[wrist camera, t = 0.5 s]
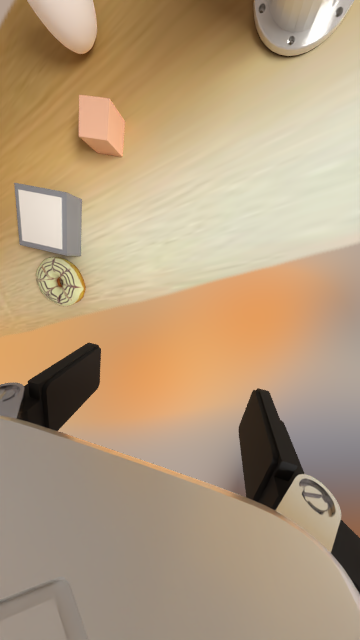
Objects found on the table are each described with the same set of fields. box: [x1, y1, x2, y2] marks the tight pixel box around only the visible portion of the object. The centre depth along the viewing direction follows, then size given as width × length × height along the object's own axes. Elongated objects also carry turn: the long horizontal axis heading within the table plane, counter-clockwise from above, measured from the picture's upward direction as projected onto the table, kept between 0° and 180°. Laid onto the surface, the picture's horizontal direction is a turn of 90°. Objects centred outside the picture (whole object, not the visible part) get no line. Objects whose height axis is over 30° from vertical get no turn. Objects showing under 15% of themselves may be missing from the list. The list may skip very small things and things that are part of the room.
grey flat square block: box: [14, 183, 82, 256], centre depth 38 cm, size 11×11×4 cm
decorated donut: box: [36, 257, 86, 306], centre depth 42 cm, size 10×11×4 cm
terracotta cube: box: [79, 95, 125, 157], centre depth 31 cm, size 5×5×5 cm
